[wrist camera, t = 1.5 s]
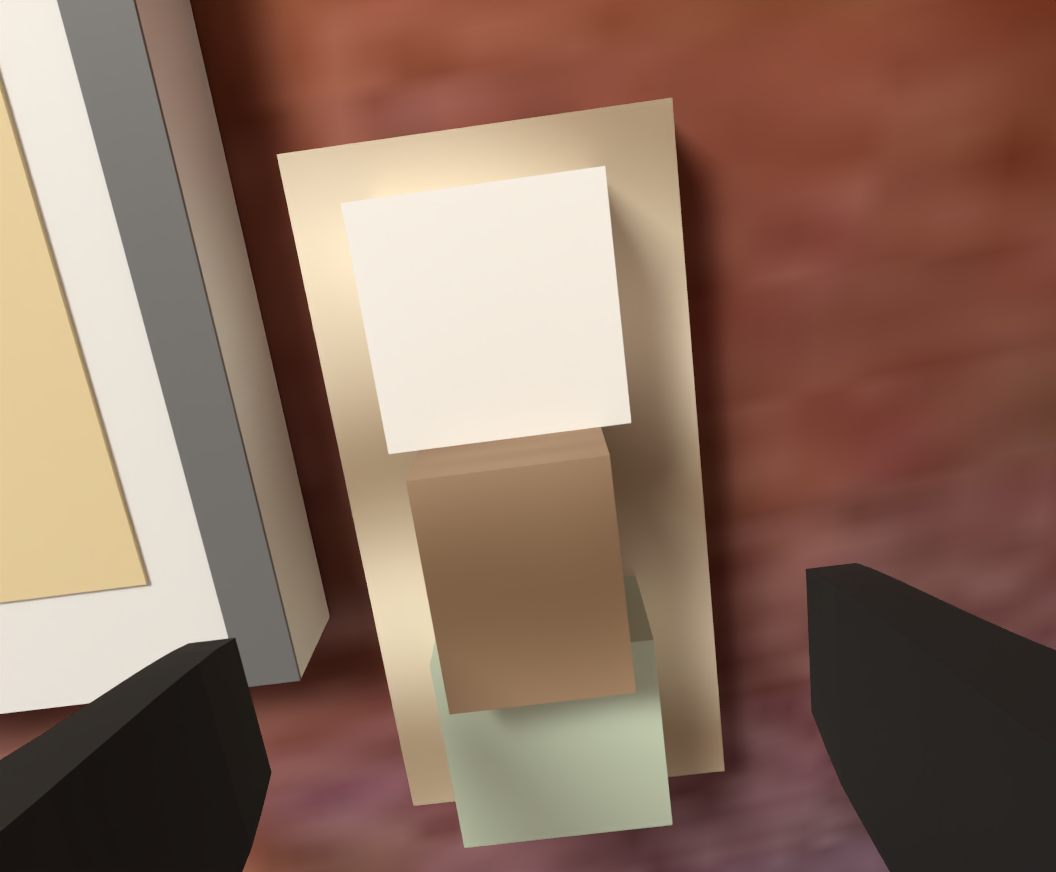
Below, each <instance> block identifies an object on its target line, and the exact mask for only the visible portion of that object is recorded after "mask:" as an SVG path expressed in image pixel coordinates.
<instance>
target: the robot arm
mask: <svg viewBox="0 0 1056 872" xmlns="http://www.w3.org/2000/svg"><path fill="white" fill-rule="evenodd" d="M806 582H807V607H808V632H809V656H810V681H811V706H812V714H813V716H814V719H815V721H816V724H817V726H818V729H819V731H820V734H821V737H822V739H823V742H824V744H825V747H826V749H827V752H828V754H829V757H830V759H831V761H832V764H833V766H834V769H835V771H836V773H837V776H838V778H839V780H840V783H841V785H842V787H843V789H844V791H845V792H846V794H847V796H848V798H849V800H850V802H851V803H852V805H853V807H854V809H855V811H856V812H857V814H858V816H859V818H860V819H861V821H862V823H863V825H864V827H865V828H866V830H867V832H868V834H869V836H870V837H871V839H872V841H873V843H874V845H875V846H876V848H877V850H878V852H879V853H880V855H881V857H882V859H883V860H884V862H885V864H886V866H887V867H888V869H889V871H890V872H1056V650H1054V649H1051V648H1049V647H1046V646H1044V645H1041V644H1038V643H1036V642H1034V641H1031V640H1029V639H1027V638H1024V637H1022V636H1020V635H1017V634H1015V633H1013V632H1010V631H1008V630H1006V629H1003V628H1001V627H999V626H997V625H994V624H992V623H990V622H988V621H985V620H983V619H981V618H979V617H977V616H974V615H972V614H970V613H968V612H966V611H963V610H961V609H959V608H957V607H955V606H953V605H950V604H948V603H946V602H944V601H942V600H940V599H938V598H935V597H933V596H931V595H929V594H927V593H925V592H923V591H921V590H918V589H916V588H914V587H912V586H910V585H908V584H906V583H903V582H901V581H899V580H897V579H895V578H892V577H890V576H888V575H886V574H883V573H881V572H879V571H876V570H874V569H871V568H869V567H866V566H863V565H860V564H857V563H853V564H844V565H836V566H828V567H819V568H811V569H806ZM270 776H271V769H270V765H269V762H268V758H267V754H266V750H265V747H264V743H263V739H262V735H261V732H260V728H259V724H258V720H257V717H256V713H255V709H254V706H253V702H252V698H251V694H250V691H249V687H248V683H247V679H246V676H245V672H244V668H243V664H242V661H241V657H240V653H239V649H238V646H237V642H236V638H228V639H220V640H211V641H203V642H195V643H188V644H186V645H184V646H182V647H180V648H178V649H176V650H174V651H172V652H170V653H168V654H167V655H165V656H163V657H161V658H160V659H158V660H156V661H155V662H153V663H151V664H150V665H148V666H146V667H145V668H143V669H142V670H140V671H138V672H137V673H135V674H134V675H132V676H131V677H129V678H127V679H126V680H124V681H123V682H121V683H120V684H118V685H117V686H115V687H114V688H112V689H111V690H109V691H107V692H106V693H104V694H103V695H101V696H100V697H98V698H97V699H95V700H94V701H92V702H91V703H89V704H88V705H86V706H85V707H83V708H81V709H80V710H78V711H77V712H75V713H74V714H72V715H71V716H69V717H68V718H66V719H65V720H63V721H62V722H60V723H58V724H57V725H55V726H54V727H52V728H51V729H49V730H48V731H46V732H45V733H43V734H42V735H40V736H38V737H37V738H35V739H34V740H32V741H30V742H29V743H27V744H25V745H24V746H22V747H21V748H19V749H17V750H16V751H14V752H12V753H11V754H9V755H8V756H6V757H4V758H3V759H1V760H0V872H242V871H243V868H244V866H245V863H246V861H247V858H248V856H249V853H250V851H251V848H252V844H253V841H254V837H255V834H256V830H257V827H258V823H259V820H260V816H261V813H262V809H263V805H264V801H265V797H266V793H267V789H268V785H269V780H270Z"/></svg>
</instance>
